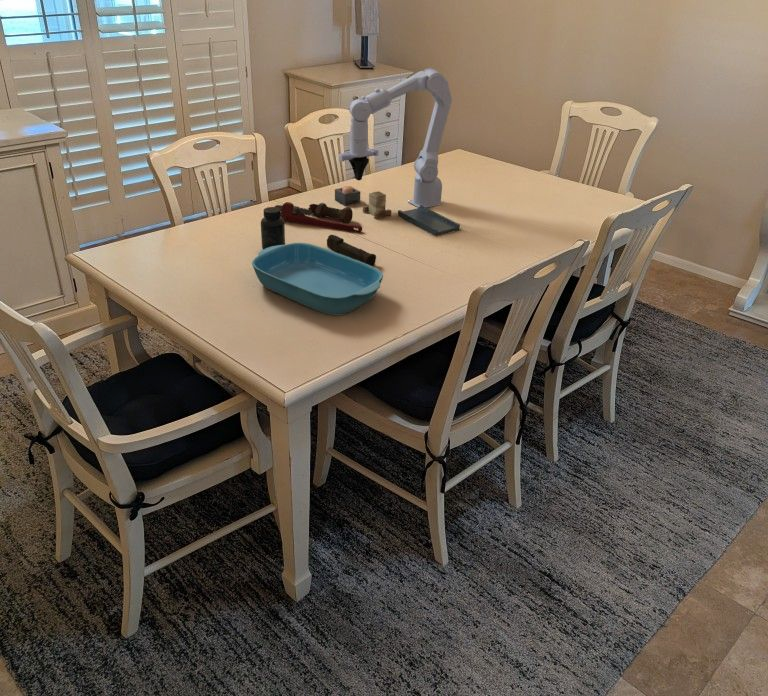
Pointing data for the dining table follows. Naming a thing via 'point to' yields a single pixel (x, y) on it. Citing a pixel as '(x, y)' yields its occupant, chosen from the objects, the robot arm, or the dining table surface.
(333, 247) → the hand tool
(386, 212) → the socket
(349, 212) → the bolt
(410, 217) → the tray
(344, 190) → the release button
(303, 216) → the pipe wrench
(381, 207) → the peg
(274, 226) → the supplement bottle
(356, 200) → the button housing
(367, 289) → the casserole dish
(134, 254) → the dining table surface
